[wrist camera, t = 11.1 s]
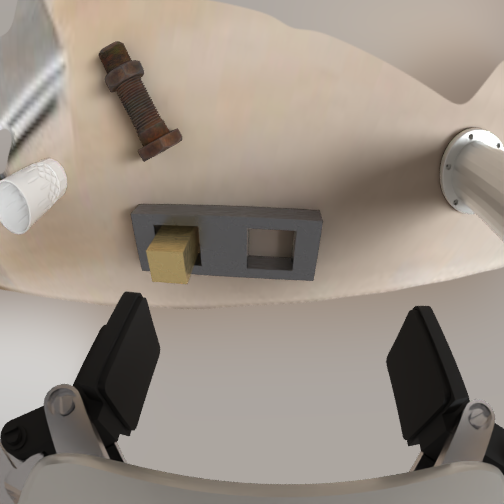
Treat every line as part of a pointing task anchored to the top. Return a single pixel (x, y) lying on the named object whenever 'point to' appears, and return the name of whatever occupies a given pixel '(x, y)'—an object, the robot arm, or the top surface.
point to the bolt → (136, 100)
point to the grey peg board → (235, 238)
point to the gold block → (173, 253)
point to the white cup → (30, 194)
